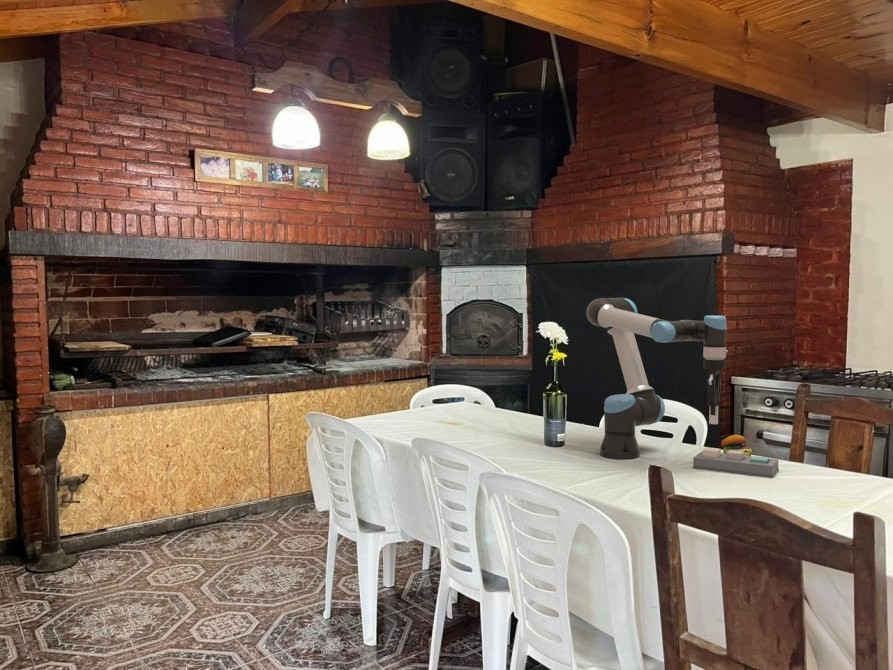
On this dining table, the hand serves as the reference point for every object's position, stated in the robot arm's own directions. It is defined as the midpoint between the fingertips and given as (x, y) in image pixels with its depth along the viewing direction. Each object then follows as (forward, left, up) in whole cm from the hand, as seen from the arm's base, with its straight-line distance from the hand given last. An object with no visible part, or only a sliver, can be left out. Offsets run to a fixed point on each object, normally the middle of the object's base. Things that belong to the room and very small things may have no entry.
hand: (713, 423), depth 238 cm
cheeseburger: (+4, +18, -16) cm, 24 cm away
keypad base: (+7, 0, -16) cm, 17 cm away
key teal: (+15, 0, -14) cm, 21 cm away
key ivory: (-1, 0, -13) cm, 13 cm away
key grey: (+7, 0, -13) cm, 15 cm away
